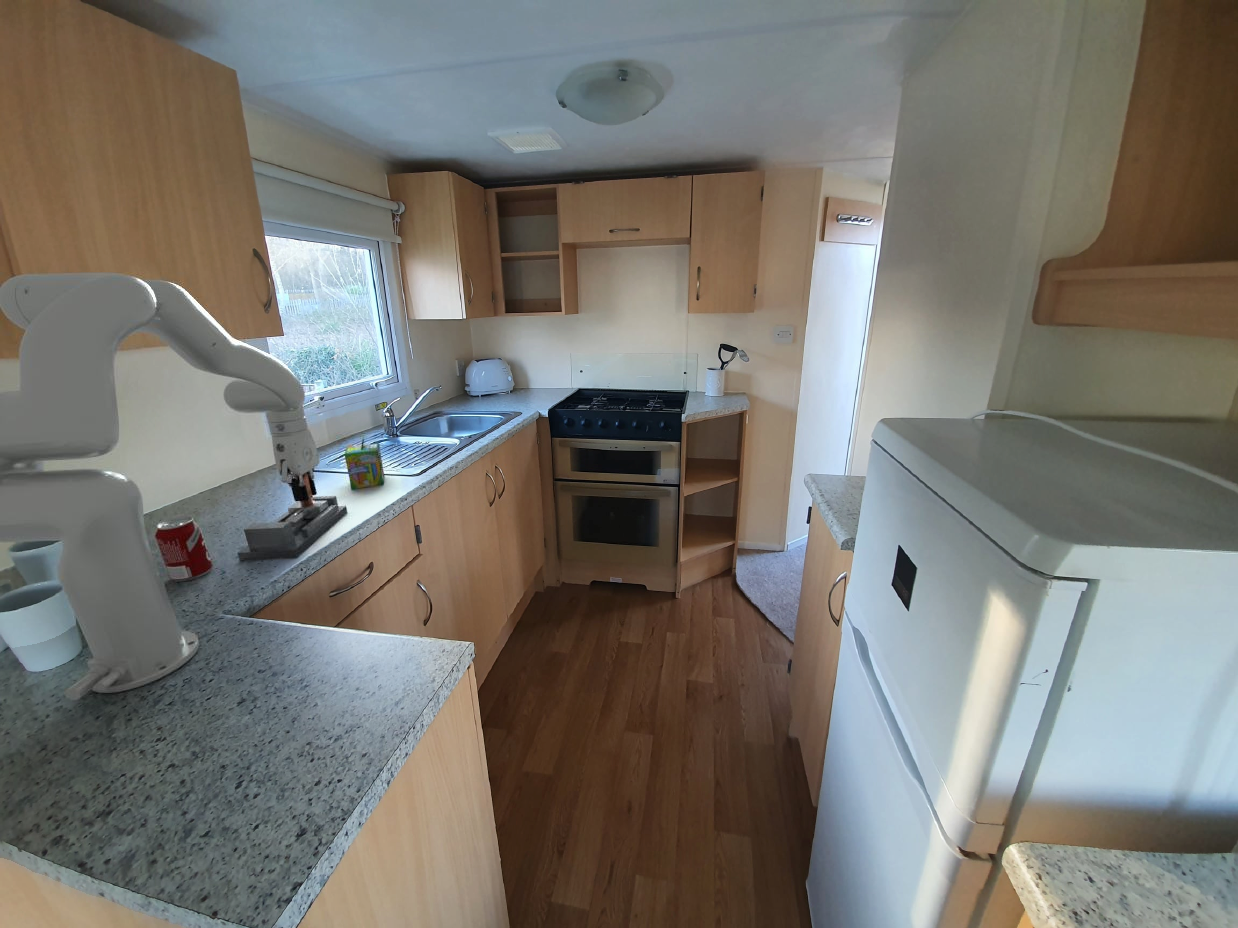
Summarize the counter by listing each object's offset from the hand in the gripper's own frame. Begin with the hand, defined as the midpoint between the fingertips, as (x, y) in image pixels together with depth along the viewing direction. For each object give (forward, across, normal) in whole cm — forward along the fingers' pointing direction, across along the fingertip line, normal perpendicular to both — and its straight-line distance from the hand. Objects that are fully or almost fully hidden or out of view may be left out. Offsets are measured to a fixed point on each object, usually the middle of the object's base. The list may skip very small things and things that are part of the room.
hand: (306, 497), depth 120 cm
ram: (+5, -3, 0) cm, 6 cm away
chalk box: (+7, +29, -2) cm, 30 cm away
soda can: (+7, -23, +12) cm, 27 cm away
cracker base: (+7, -6, 0) cm, 9 cm away
